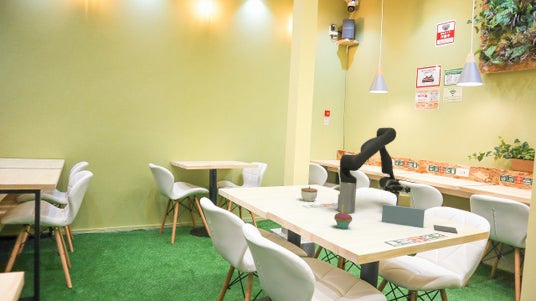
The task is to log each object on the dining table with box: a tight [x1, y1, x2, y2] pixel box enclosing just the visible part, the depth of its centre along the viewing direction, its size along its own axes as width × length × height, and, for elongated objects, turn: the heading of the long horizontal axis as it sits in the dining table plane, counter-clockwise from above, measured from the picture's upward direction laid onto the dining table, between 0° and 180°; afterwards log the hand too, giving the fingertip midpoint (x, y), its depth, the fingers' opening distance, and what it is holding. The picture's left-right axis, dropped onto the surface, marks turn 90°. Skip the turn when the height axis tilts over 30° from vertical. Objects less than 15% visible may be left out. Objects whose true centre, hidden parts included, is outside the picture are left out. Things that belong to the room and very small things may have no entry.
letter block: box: [397, 193, 412, 208], centre depth 188 cm, size 5×5×14 cm
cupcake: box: [333, 203, 353, 230], centre depth 168 cm, size 9×8×12 cm
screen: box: [381, 204, 426, 229], centre depth 181 cm, size 20×2×9 cm, turn 67°
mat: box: [433, 224, 458, 234], centre depth 175 cm, size 10×10×1 cm
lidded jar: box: [300, 186, 318, 203], centre depth 232 cm, size 11×11×9 cm
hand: (399, 190), depth 199 cm, fingers open, 8 cm apart
